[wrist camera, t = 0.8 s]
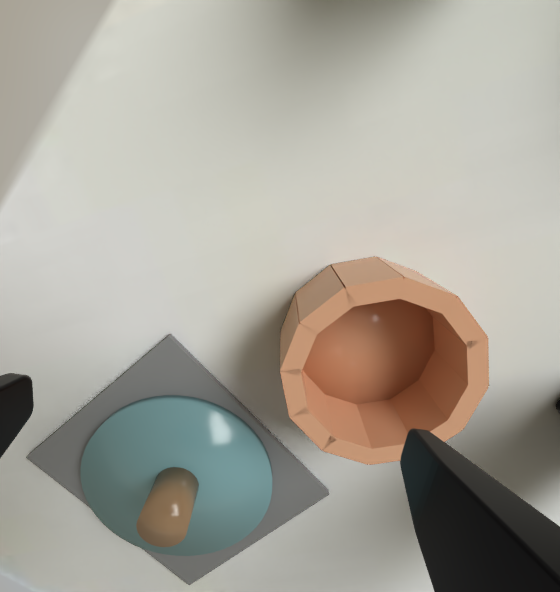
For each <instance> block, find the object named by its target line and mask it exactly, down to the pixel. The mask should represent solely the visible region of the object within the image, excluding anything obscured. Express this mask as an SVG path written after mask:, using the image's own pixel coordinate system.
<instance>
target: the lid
mask: <svg viewBox="0 0 560 592" xmlns="http://www.w3.org/2000/svg"><path fill="white" fill-rule="evenodd" d="M80 472H81V483H82V489H83V492H84V494H85V497H86V500H87V502H88V503H89V505H90V507H91V509H92V510H93V512H94V513H95V515H96V516H97V517H98V518H99V519H100V521H101V522H102V523H103V524H104V525H105V526H106V527H108V528H109V529H110V530H111V531H112V532H113V533H115V534H116V535H118V536H119V537H121V538H122V539H124V540H126V541H128V542H129V543H131V544H133V545H136V546H138V547H140V548H143V549H146V550H149V551H152V552H156V553H161V554H166V555H174V556H195V555H203V554H208V553H213V552H216V551H219V550H223V549H225V548H227V547H230V546H232V545H234V544H235V543H237V542H239V541H241V540H242V539H243V538H245V537H246V536H247V535H249V534H250V533H251V532H252V531H253V530H254V529H255V528H256V527H257V526H258V524H259V523H260V522H261V520H262V519H263V517H264V515H265V513H266V512H267V509H268V507H269V504H270V501H271V495H272V466H271V461H270V458H269V455H268V452H267V450H266V448H265V446H264V444H263V442H262V441H261V439H260V438H259V436H258V435H257V434H256V432H255V431H254V430H253V429H252V428H251V427H250V426H249V425H248V424H247V423H246V422H245V421H243V420H242V419H241V418H240V417H238V416H237V415H235V414H234V413H232V412H231V411H229V410H227V409H225V408H223V407H222V406H220V405H217V404H215V403H212V402H209V401H207V400H203V399H199V398H195V397H189V396H181V395H163V396H154V397H149V398H145V399H141V400H138V401H135V402H132V403H130V404H128V405H126V406H124V407H122V408H120V409H119V410H117V411H116V412H114V413H113V414H112V415H110V416H109V417H108V418H107V419H106V420H105V421H104V422H103V423H102V424H101V426H100V427H99V428H98V429H97V431H96V432H95V433H94V435H93V436H92V437H91V439H90V440H89V442H88V444H87V446H86V448H85V451H84V454H83V457H82V461H81V468H80Z"/></svg>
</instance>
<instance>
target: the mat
mask: <svg viewBox="0 0 560 592" xmlns="http://www.w3.org/2000/svg"><path fill="white" fill-rule="evenodd" d="M163 395H181V396H189V397H195V398H199V399H203V400H207V401H209V402H212V403H215V404H217V405H220V406H222V407H223V408H225V409H227V410H229V411H231V412H232V413H234V414H235V415H237V416H238V417H240V418H241V419H242V420H243V421H245V422H246V423H247V424H248V425H249V426H250V427H251V428H252V429H253V430H254V431H255V432H256V434H257V435H258V436H259V438H260V439H261V441H262V442H263V444H264V446H265V448H266V450H267V452H268V455H269V458H270V461H271V466H272V495H271V501H270V504H269V507H268V509H267V512H266V513H265V515H264V517H263V519H262V520H261V522H260V523H259V524H258V526H257V527H256V528H255V529H254V530H253V531H252V532H251V533H250V534H249V535H247V536H246V537H245V538H243V539H242V540H241V541H239V542H237V543H235V544H234V545H232V546H230V547H227V548H225V549H223V550H219V551H216V552H213V553H208V554H203V555H195V556H174V555H166V554H161V553H156V552H152V551H149V550H146V549H144V550H145V551H146V552H147V553H149V554H150V555H151V556H152V557H154V558H155V559H156V560H158V561H159V562H160V563H161V564H163V565H164V566H165V567H166V568H168V569H169V570H170V571H172V572H173V573H174V574H175V575H177V576H178V577H179V578H181V579H182V580H183V581H184V582H186V583H187V584H188V585H190V584H192V583H193V582H195V581H196V580H198V579H200V578H201V577H203V576H204V575H206V574H207V573H209V572H210V571H212V570H213V569H215V568H217V567H218V566H220V565H221V564H223V563H224V562H226V561H227V560H229V559H230V558H232V557H233V556H235V555H237V554H238V553H240V552H241V551H243V550H244V549H246V548H247V547H249V546H250V545H252V544H253V543H255V542H257V541H258V540H260V539H261V538H263V537H264V536H266V535H267V534H269V533H270V532H272V531H273V530H275V529H277V528H278V527H280V526H281V525H283V524H284V523H286V522H287V521H289V520H290V519H292V518H293V517H295V516H297V515H298V514H300V513H301V512H303V511H304V510H306V509H307V508H309V507H310V506H312V505H314V504H315V503H317V502H318V501H320V500H321V499H323V498H324V497H326V496H327V495H329V491H328V489H327V488H326V487H325V486H324V485H323V484H322V483H321V482H320V481H319V480H318V479H317V478H316V477H315V476H314V475H313V474H312V473H311V472H310V471H309V470H308V469H307V468H306V467H305V466H304V465H303V464H302V463H301V462H300V461H299V460H298V459H297V458H296V457H295V456H294V455H293V454H292V453H291V452H290V451H289V450H288V449H286V448H285V447H284V446H283V445H282V444H281V443H280V442H279V441H278V440H277V439H276V438H275V437H274V436H273V435H272V434H271V433H270V432H269V431H268V430H267V429H266V428H265V427H264V426H263V425H262V424H261V423H260V422H259V421H258V420H257V419H256V418H255V417H254V416H253V415H252V414H251V413H250V412H249V411H248V410H247V409H246V408H245V407H244V406H243V405H242V404H241V403H240V402H239V401H238V400H237V399H236V398H235V397H234V396H233V395H232V394H231V393H230V392H229V391H228V390H227V389H226V388H225V387H224V386H223V385H222V384H221V383H220V382H219V381H218V380H217V379H216V378H215V377H214V376H213V375H212V374H211V373H210V372H209V371H208V370H207V369H206V368H205V367H204V366H203V365H201V364H200V363H199V362H198V361H197V360H196V359H195V358H194V357H193V356H192V355H191V354H190V353H189V352H188V351H187V350H186V349H185V348H184V347H183V346H182V345H181V344H180V343H179V342H178V341H177V340H176V339H175V338H174V337H173V336H172V335H171V334H169V335H168V336H167V337H166V338H165V339H163V340H162V341H161V342H160V343H159V344H158V345H156V346H155V347H154V348H153V349H152V350H151V351H149V352H148V353H147V354H146V355H145V356H143V357H142V358H141V359H140V360H139V361H138V362H136V363H135V364H134V365H133V366H132V367H131V368H129V369H128V370H127V371H126V372H125V373H124V374H122V375H121V376H120V377H119V378H118V379H116V380H115V381H114V382H113V383H112V384H111V385H109V386H108V387H107V388H106V389H105V390H104V391H102V392H101V393H100V394H99V395H98V396H97V397H95V398H94V399H93V400H92V401H91V402H89V403H88V404H87V405H86V406H85V407H84V408H82V409H81V410H80V411H79V412H78V413H77V414H75V415H74V416H73V417H72V418H71V419H70V420H68V421H67V422H66V423H65V424H64V425H63V426H61V427H60V428H59V429H58V430H57V431H55V432H54V433H53V434H52V435H51V436H50V437H48V438H47V439H46V440H45V441H44V442H43V443H41V444H40V445H39V446H38V447H37V448H36V449H34V450H33V451H32V452H31V453H30V454H29V455H28V456H27V457H26V458H27V459H29V460H30V461H31V462H33V463H34V464H35V465H36V466H38V467H39V468H40V469H42V470H43V471H44V472H45V473H47V474H48V475H49V476H50V477H52V478H53V479H54V480H56V481H57V482H58V483H59V484H61V485H62V486H63V487H64V488H66V489H67V490H68V491H70V492H71V493H72V494H73V495H75V496H76V497H77V498H78V499H80V500H81V501H82V502H84V503H85V504H86V505H87V506H89V507H90V505H89V503H88V502H87V500H86V497H85V494H84V492H83V489H82V483H81V472H80V468H81V461H82V457H83V454H84V451H85V448H86V446H87V444H88V442H89V440H90V439H91V437H92V436H93V435H94V433H95V432H96V431H97V429H98V428H99V427H100V426H101V424H102V423H103V422H104V421H105V420H106V419H107V418H108V417H109V416H110V415H112V414H113V413H114V412H116V411H117V410H119V409H120V408H122V407H124V406H126V405H128V404H130V403H132V402H135V401H138V400H141V399H145V398H149V397H154V396H163ZM90 508H91V507H90ZM142 549H143V548H142Z"/></svg>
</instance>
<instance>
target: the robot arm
mask: <svg viewBox="0 0 560 592" xmlns="http://www.w3.org/2000/svg"><path fill="white" fill-rule="evenodd" d="M556 409H557V410H558V412H559V413H560V400H559V401H558V402H557V403H556ZM32 411H33V388H32V380H31V378H30V377H29V376H27V375H21V374H14V373H9V374H5V375H2V376H0V458H1V457H2V455H3V454H4V452H5V451H6V450H7V448H8V447H9V445H10V444H11V443H12V441H13V440H14V439H15V437H16V436H17V434H18V433H19V432H20V430H21V429H22V427H23V426H24V425H25V423H26V422H27V420H28V419H29V418H30V416H31V414H32ZM400 464H401V470H402V474H403V479H404V484H405V488H406V493H407V497H408V502H409V506H410V511H411V515H412V520H413V524H414V528H415V532H416V535H417V539H418V542H419V545H420V548H421V551H422V554H423V557H424V560H425V563H426V566H427V570H428V573H429V576H430V579H431V582H432V585H433V588H434V591H435V592H560V527H559V526H558V525H557V524H555V523H554V522H553V521H551V520H550V519H549V518H547V517H546V516H544V515H543V514H542V513H540V512H539V511H538V510H536V509H535V508H533V507H532V506H531V505H529V504H528V503H527V502H525V501H524V500H523V499H521V498H520V497H518V496H517V495H516V494H514V493H513V492H512V491H510V490H509V489H508V488H506V487H505V486H503V485H502V484H501V483H499V482H498V481H497V480H495V479H494V478H493V477H491V476H490V475H488V474H487V473H486V472H484V471H483V470H482V469H480V468H479V467H478V466H476V465H475V464H473V463H472V462H471V461H469V460H468V459H467V458H465V457H464V456H463V455H461V454H460V453H458V452H457V451H456V450H454V449H453V448H452V447H450V446H449V445H448V444H446V443H445V442H443V441H442V440H441V439H439V438H438V437H437V436H435V435H434V434H433V433H431V432H430V431H428V430H423V429H416V428H412V429H410V430H409V432H408V434H407V437H406V441H405V444H404V447H403V450H402V454H401V459H400Z"/></svg>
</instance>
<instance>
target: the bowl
mask: <svg viewBox="0 0 560 592" xmlns="http://www.w3.org/2000/svg"><path fill="white" fill-rule="evenodd" d="M487 337H488V336H487V335H486V334H485V332H484V331H483V330H482V328H481V327H480V326H479V324H478V323H477V322H476V320H475V319H474V317H473V316H472V315H471V313H470V312H469V311H468V309H467V308H466V307H465V305H464V304H463V303H462V301H461V300H460V298H459V297H458V296H457V295H455V294H453V293H452V292H450V291H448V290H447V289H445V288H443V287H442V286H440V285H438V284H437V283H435V282H434V281H432V280H430V279H429V278H427V277H425V276H424V275H422V274H420V273H419V272H417V271H415V270H412V269H409V268H406V267H404V266H401V265H398V264H395V263H393V262H390V261H387V260H384V259H382V258H379V257H369V258H364V259H358V260H353V261H347V262H341V263H336V264H331V266H330V265H329V266H328V267H326V268H325V269H324V270H323V271H322V272H320V273H319V274H318V275H317V276H315V277H314V278H313V279H312V280H310V281H309V282H308V283H307V284H305V285H304V286H303V287H302V288H300V289H299V290H298V291H297V292H296V294H295V295H294V297H293V300H292V302H291V305H290V308H289V310H288V313H287V315H286V318H285V321H284V323H283V326H282V328H281V331H280V374H281V379H282V384H283V389H284V394H285V399H286V404H287V408H288V413H289V417H290V419H291V420H292V421H293V422H294V423H295V424H296V425H297V426H298V427H299V428H300V429H301V430H302V431H303V432H304V433H305V434H306V435H307V436H308V437H309V438H310V439H311V440H312V441H313V442H314V443H315V444H316V445H317V446H318V447H319V448H320V449H321V450H323V451H324V452H328V453H331V454H334V455H338V456H341V457H344V458H347V459H351V460H354V461H357V462H361V463H364V464H367V465H368V464H369V465H372V464H379V463H386V462H393V461H400V459H401V454H402V450H403V447H404V444H405V441H406V437H407V434H408V432H409V430H410V429H412V428H416V429H423V430H428V431H430V432H431V433H433V434H434V435H435V436H437V437H438V438H439V439H441V440H442V441H443V442H445V441H446V440H448V439H450V438H451V437H453V436H454V435H456V434H457V433H459V432H461V431H462V429H464V427H465V426H466V424H467V422H468V421H469V419H470V417H471V416H472V414H473V412H474V411H475V409H476V407H477V406H478V404H479V402H480V401H481V399H482V397H483V396H484V394H485V392H486V391H487V389H488V386H489V360H488V338H487Z"/></svg>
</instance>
